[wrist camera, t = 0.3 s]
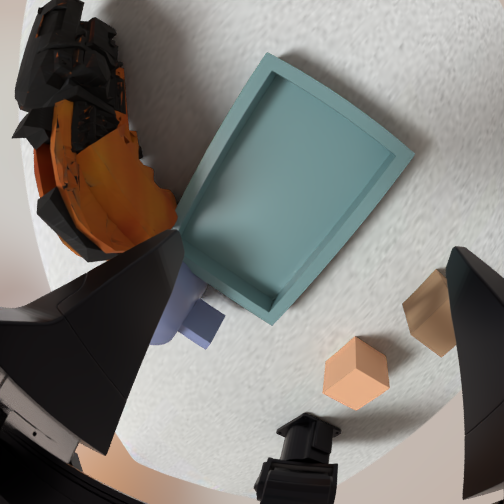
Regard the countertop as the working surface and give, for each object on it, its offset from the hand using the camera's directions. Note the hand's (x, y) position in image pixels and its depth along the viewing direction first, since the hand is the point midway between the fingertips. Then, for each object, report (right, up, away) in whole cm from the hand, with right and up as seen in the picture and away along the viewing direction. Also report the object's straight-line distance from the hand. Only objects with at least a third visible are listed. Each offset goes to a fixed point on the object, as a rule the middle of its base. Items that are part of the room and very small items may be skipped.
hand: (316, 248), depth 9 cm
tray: (0, +4, +15) cm, 15 cm away
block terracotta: (+9, -11, +20) cm, 24 cm away
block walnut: (+15, -4, +15) cm, 21 cm away
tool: (-14, +13, +15) cm, 24 cm away
